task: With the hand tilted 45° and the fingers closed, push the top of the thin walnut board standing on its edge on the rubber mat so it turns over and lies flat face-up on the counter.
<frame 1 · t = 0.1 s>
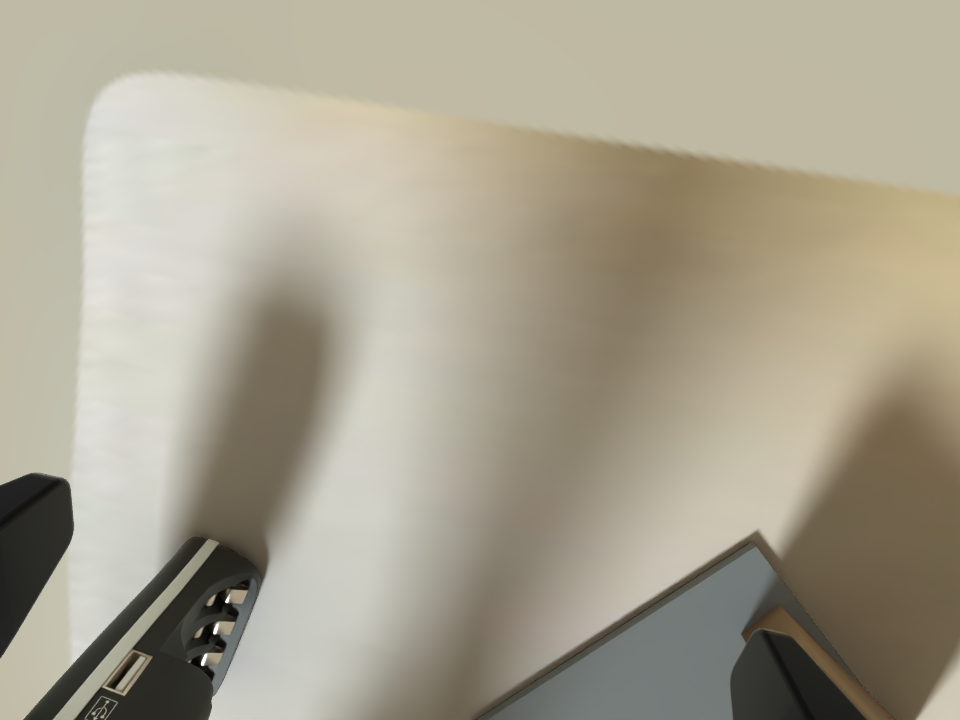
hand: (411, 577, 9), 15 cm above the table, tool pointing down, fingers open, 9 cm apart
board: (829, 687, 26), resting on mat
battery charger: (217, 615, 27), on the table
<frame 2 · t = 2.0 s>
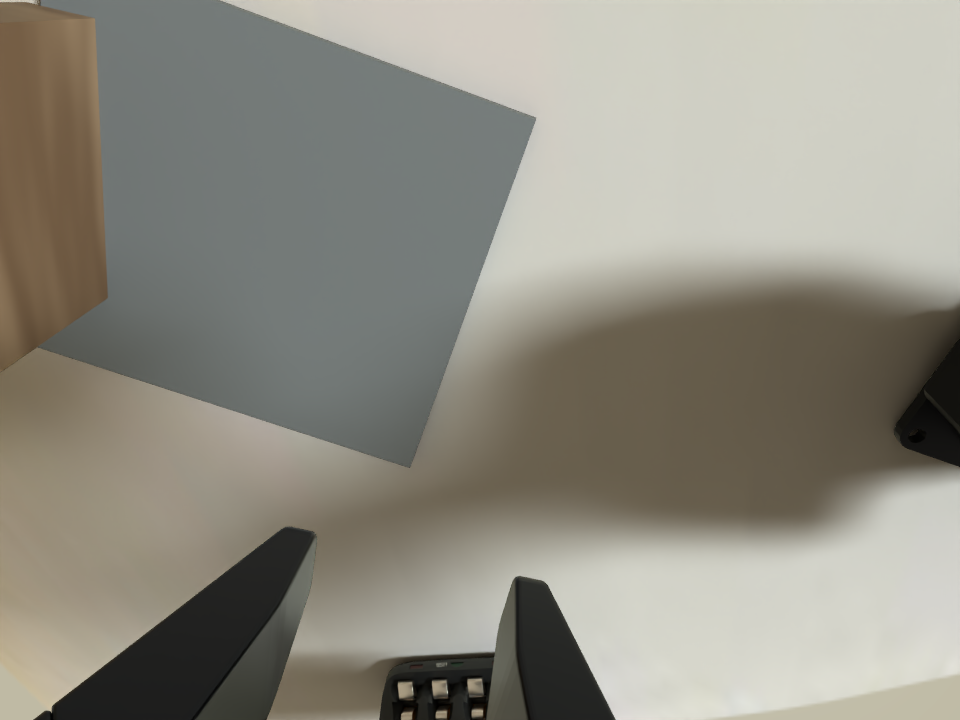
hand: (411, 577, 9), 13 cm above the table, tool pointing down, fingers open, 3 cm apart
board: (70, 164, 20), resting on mat
mat: (260, 240, 21), on the table
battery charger: (464, 669, 29), on the table
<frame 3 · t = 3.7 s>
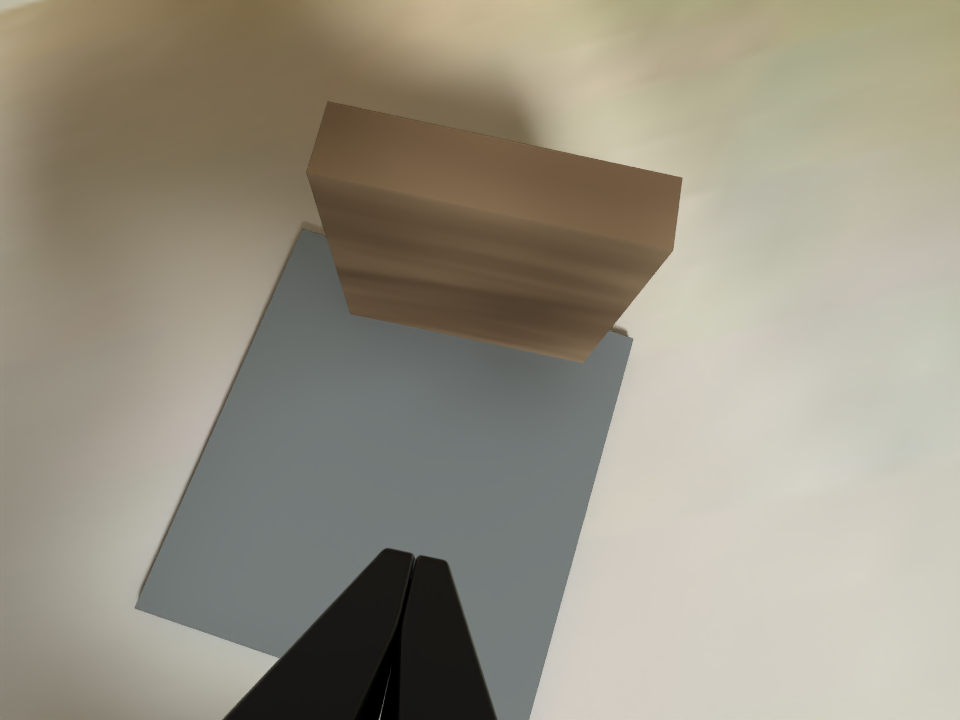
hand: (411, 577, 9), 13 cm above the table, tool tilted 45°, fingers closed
board: (472, 313, 24), resting on mat
mat: (403, 464, 23), on the table
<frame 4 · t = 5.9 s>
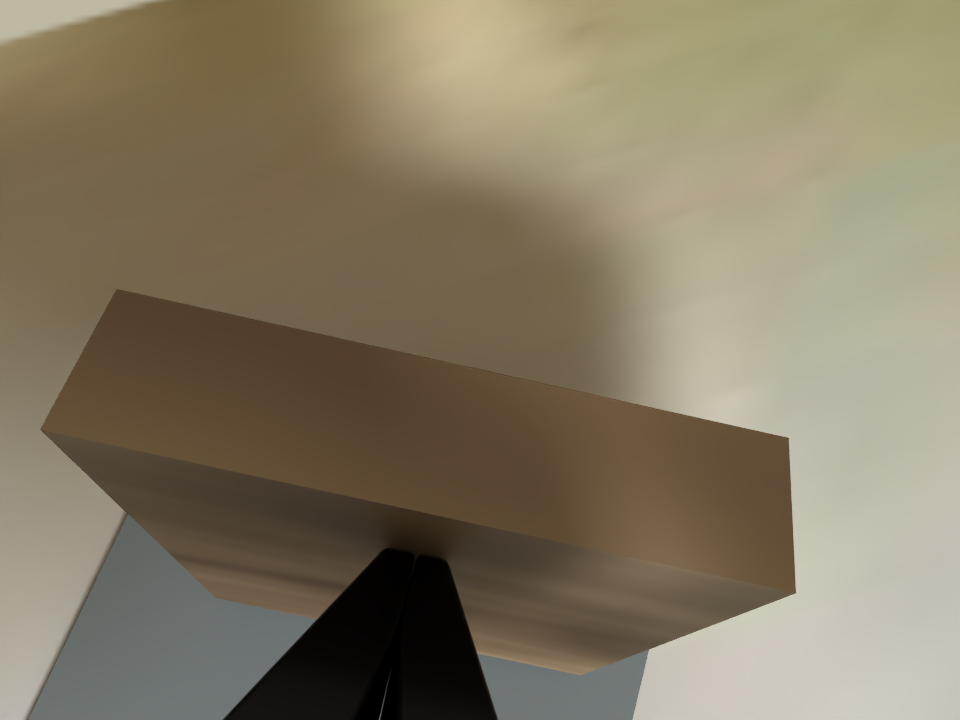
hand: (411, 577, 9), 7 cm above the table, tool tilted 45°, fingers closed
board: (408, 594, 16), point 1 cm above the table, tilted 12°, touching mat
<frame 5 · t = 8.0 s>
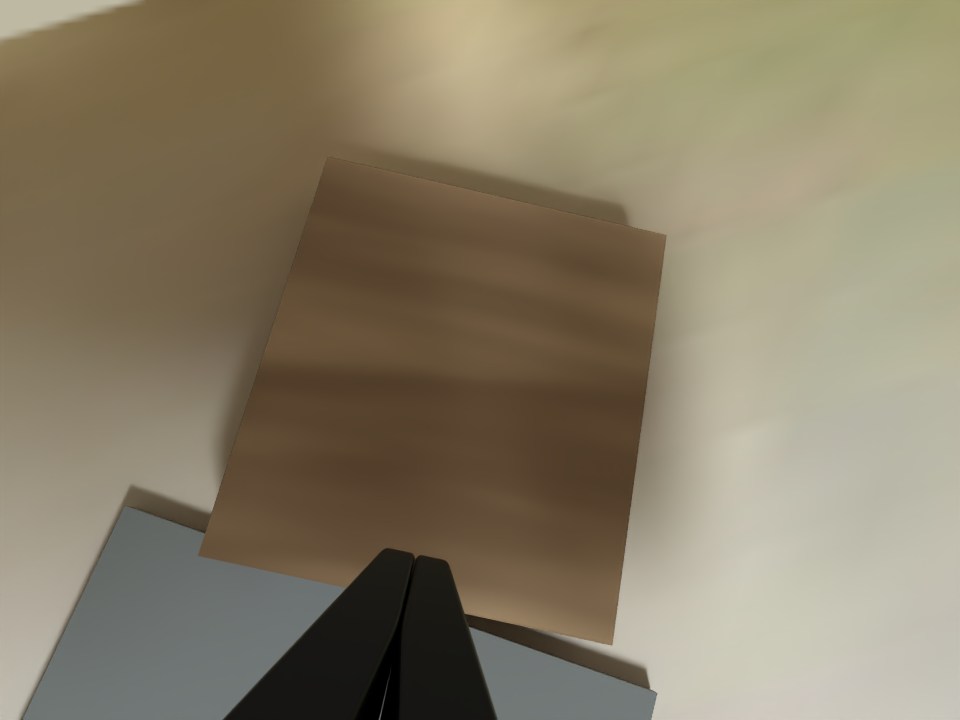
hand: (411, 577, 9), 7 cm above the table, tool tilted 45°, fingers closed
board: (406, 600, 14), point 1 cm above the table, tilted 92°, touching mat
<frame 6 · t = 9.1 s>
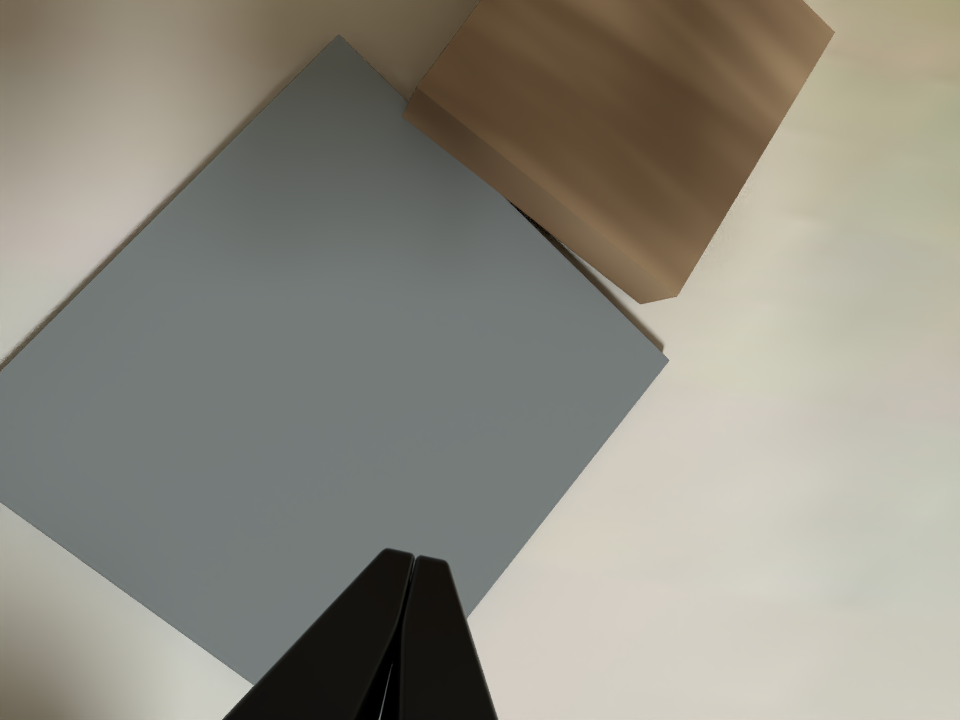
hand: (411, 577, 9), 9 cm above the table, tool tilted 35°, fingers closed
board: (539, 206, 18), point 1 cm above the table, tilted 92°, touching mat
mat: (346, 396, 18), on the table
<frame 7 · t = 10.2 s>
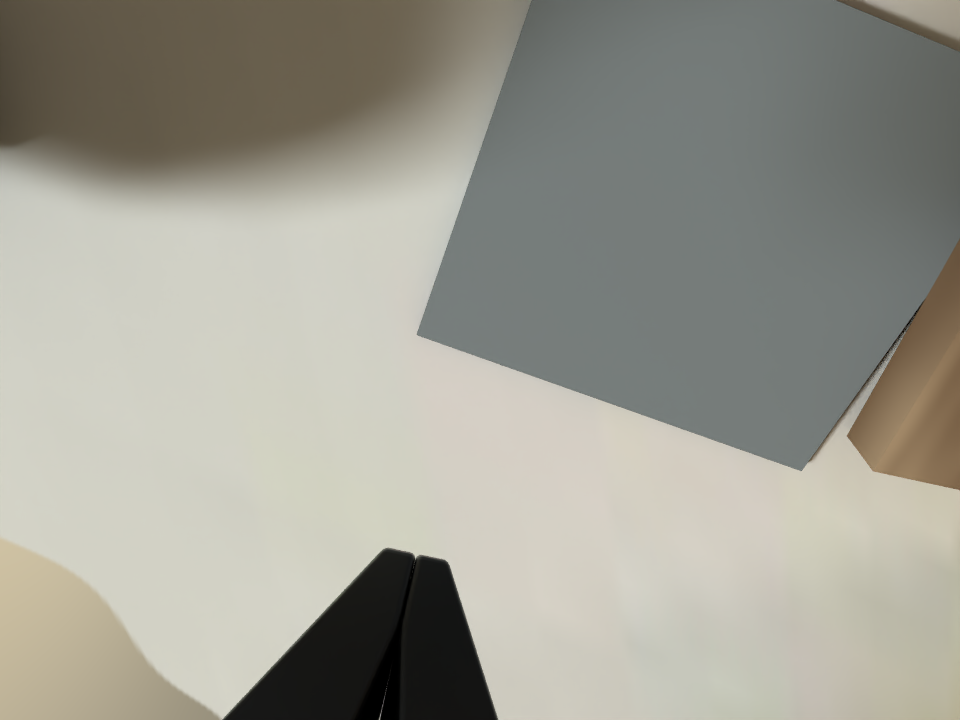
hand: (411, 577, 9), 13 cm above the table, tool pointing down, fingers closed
board: (928, 335, 19), point 1 cm above the table, tilted 92°, touching mat
mat: (702, 225, 20), on the table
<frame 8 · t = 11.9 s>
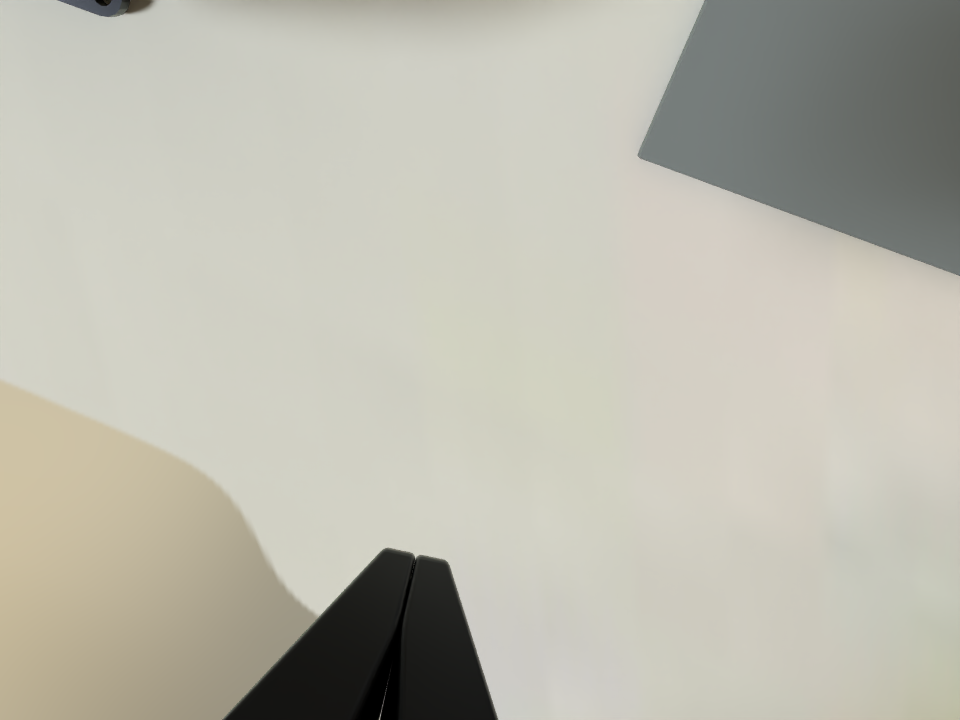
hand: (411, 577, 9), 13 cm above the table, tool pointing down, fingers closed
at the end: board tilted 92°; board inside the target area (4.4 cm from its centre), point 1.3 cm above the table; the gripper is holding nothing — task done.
